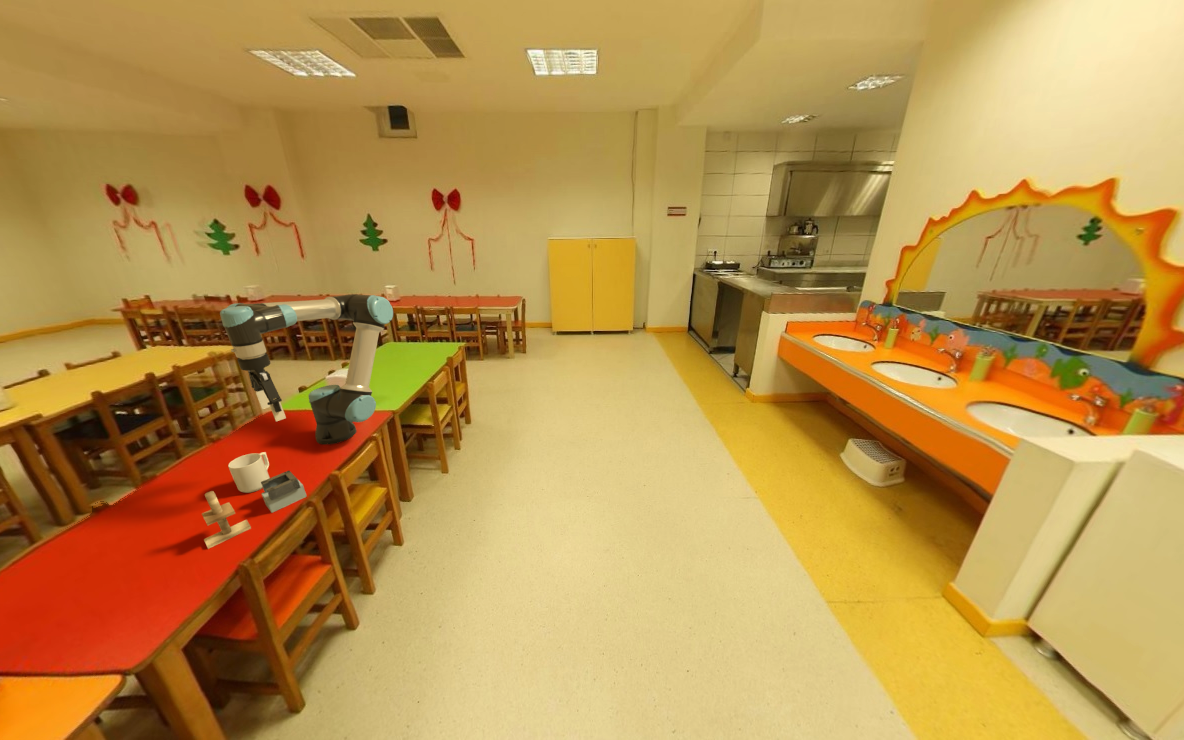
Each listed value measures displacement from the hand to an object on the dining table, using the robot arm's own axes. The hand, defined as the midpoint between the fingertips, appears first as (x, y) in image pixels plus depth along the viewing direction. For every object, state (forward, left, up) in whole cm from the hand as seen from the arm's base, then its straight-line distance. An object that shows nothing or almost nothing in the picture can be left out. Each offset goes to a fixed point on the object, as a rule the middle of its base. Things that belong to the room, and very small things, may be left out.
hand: (273, 413), depth 129 cm
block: (+6, +10, -28) cm, 30 cm away
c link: (+6, +10, -23) cm, 26 cm away
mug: (+9, -9, -29) cm, 31 cm away
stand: (+22, +14, -28) cm, 38 cm away
